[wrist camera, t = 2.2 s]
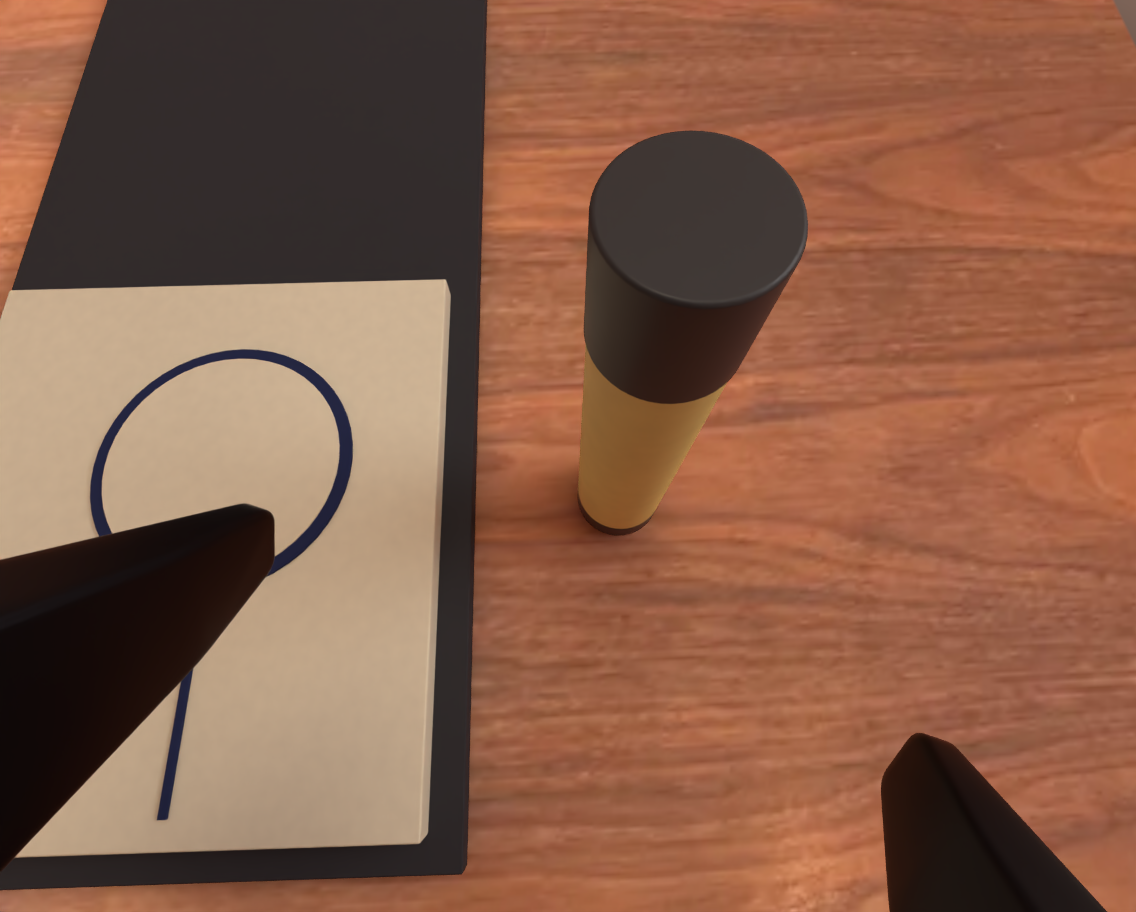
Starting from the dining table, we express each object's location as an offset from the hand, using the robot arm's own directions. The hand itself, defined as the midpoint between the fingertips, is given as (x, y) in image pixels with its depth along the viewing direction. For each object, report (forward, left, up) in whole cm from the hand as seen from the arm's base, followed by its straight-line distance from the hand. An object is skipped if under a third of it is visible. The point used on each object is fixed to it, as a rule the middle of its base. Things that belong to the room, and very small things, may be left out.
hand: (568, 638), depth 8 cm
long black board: (+27, +12, -12) cm, 32 cm away
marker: (+5, -2, -12) cm, 13 cm away
